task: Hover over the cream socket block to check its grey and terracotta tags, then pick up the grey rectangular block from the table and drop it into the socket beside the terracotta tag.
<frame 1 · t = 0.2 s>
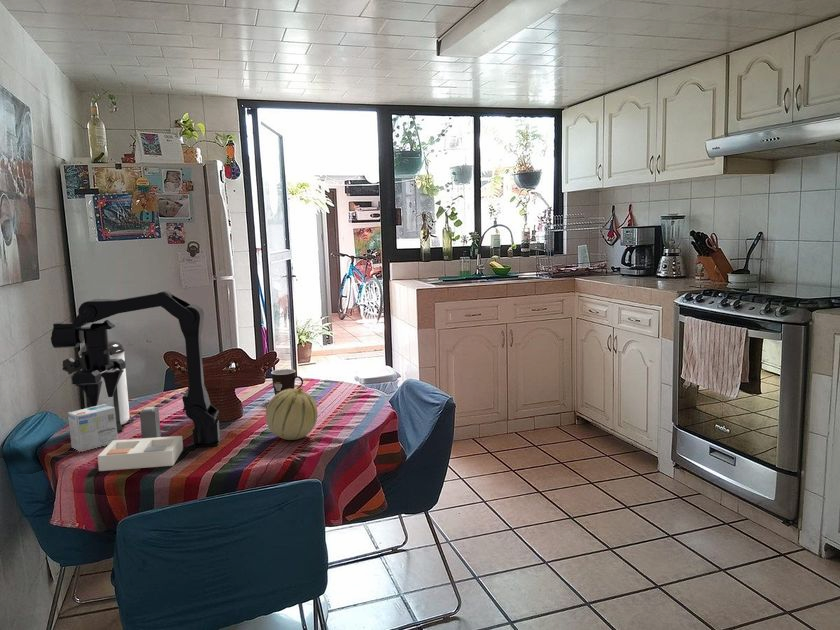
hand: (102, 401, 169), 14 cm above the table, tool pointing down, fingers open, 9 cm apart
cantaloupe: (293, 439, 178), on the table
coffee mug: (286, 400, 220), on the table
socket block: (142, 459, 163), on the table
grey rectangular block: (152, 443, 176), on the table
light bulb box: (95, 446, 175), on the table
coffee press: (108, 429, 190), on the table
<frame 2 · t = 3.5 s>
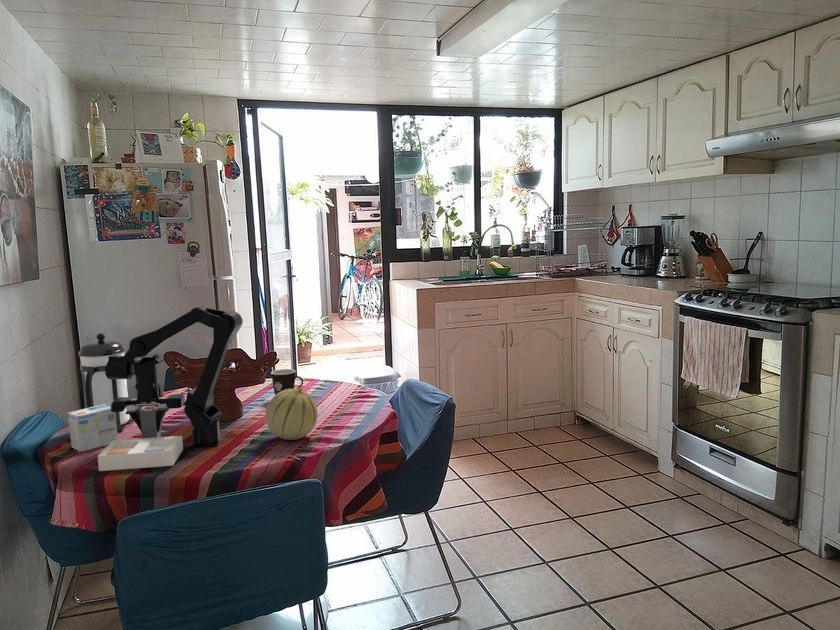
hand: (151, 431, 176), 4 cm above the table, tool pointing down, fingers closed on grey rectangular block, 4 cm apart
grey rectangular block: (152, 443, 176), on the table, touching gripper
everything else where it was.
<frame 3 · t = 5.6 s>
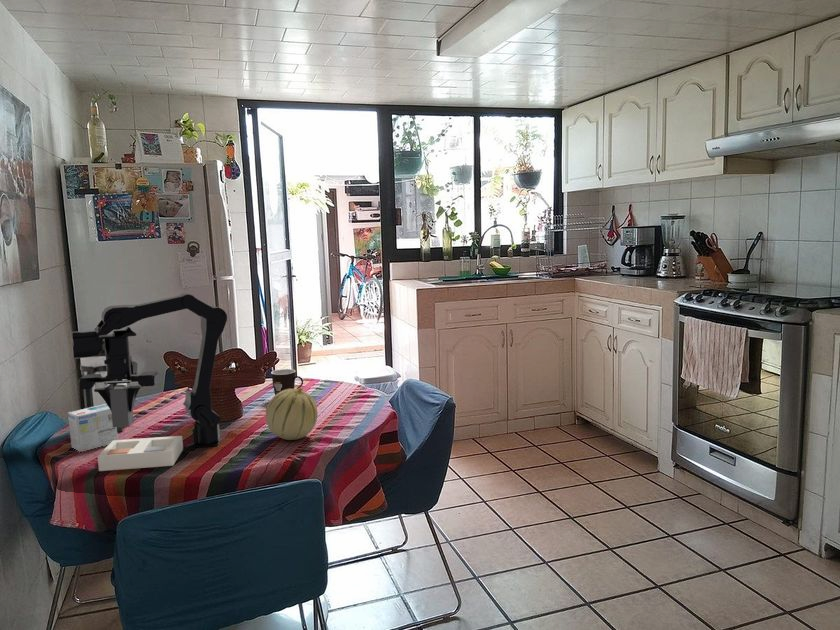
hand: (122, 411, 162), 13 cm above the table, tool pointing down, fingers closed on grey rectangular block, 4 cm apart
grey rectangular block: (123, 424, 163), point 10 cm above the table, touching gripper
everything else where it was.
when the fingers open (5 cm above the table, at t = 7.8 s): grey rectangular block drops 1 cm, resting in socket block.
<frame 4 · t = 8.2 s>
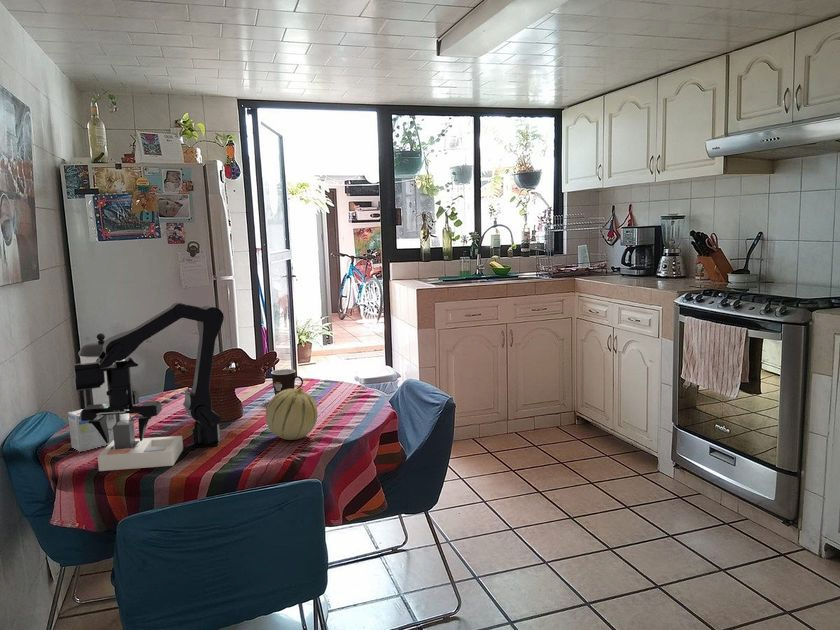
hand: (124, 441, 163), 5 cm above the table, tool pointing down, fingers open, 8 cm apart
grey rectangular block: (126, 459, 164), resting in socket block
everything else where it was.
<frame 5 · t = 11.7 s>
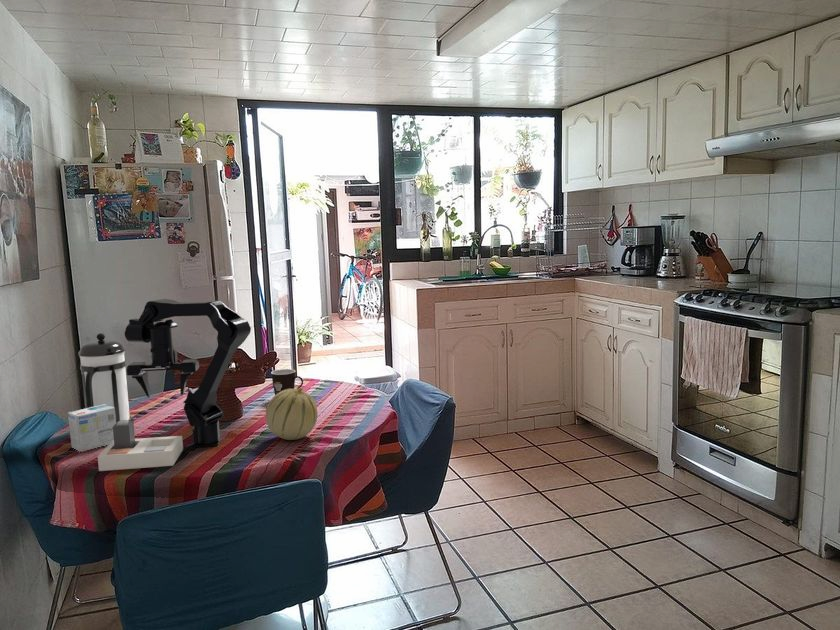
hand: (165, 396, 178), 13 cm above the table, tool pointing down, fingers open, 9 cm apart
nothing on the table moved.
at the end: grey rectangular block 0.1 cm from the target spot on the socket block, point 0.0 cm above the socket block's base; grey rectangular block tilted 0°; the gripper is holding nothing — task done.
